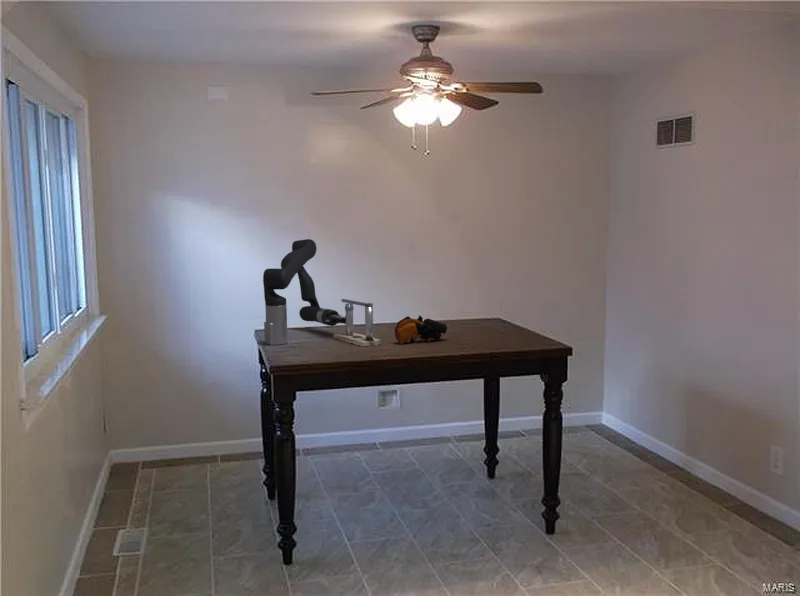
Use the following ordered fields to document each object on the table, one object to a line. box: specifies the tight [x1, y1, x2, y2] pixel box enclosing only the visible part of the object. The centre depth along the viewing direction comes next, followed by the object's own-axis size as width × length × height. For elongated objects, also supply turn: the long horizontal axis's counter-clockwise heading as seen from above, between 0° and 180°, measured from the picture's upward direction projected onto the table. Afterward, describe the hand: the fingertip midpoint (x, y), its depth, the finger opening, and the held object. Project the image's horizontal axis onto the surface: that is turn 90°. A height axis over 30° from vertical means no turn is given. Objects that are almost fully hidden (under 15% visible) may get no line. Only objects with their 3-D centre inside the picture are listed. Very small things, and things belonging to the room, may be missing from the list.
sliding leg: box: [344, 303, 355, 335], centre depth 346 cm, size 4×4×14 cm
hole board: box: [333, 332, 384, 348], centre depth 342 cm, size 10×25×2 cm, turn 36°
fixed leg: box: [341, 298, 374, 341], centre depth 341 cm, size 3×23×16 cm, turn 36°
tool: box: [394, 314, 448, 345], centre depth 340 cm, size 8×23×15 cm, turn 110°
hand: (347, 321), depth 348 cm, fingers closed
